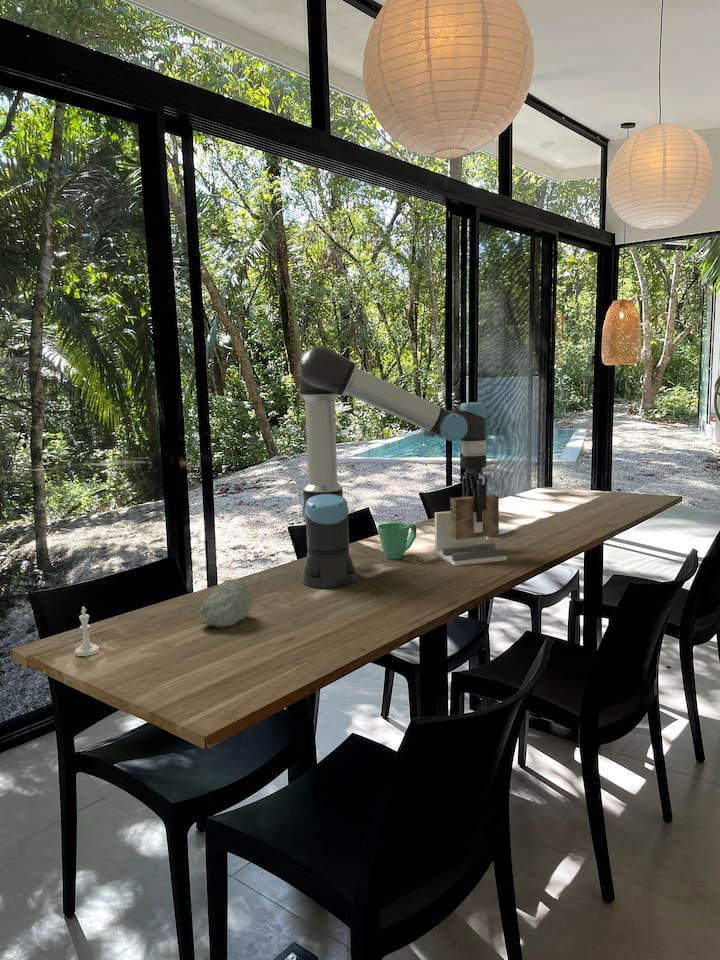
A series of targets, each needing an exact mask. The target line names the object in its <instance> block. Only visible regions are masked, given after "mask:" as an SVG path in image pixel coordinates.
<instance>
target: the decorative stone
mask: <svg viewBox="0 0 720 960" xmlns="http://www.w3.org/2000/svg"><path fill="white" fill-rule="evenodd" d="M252 604H253V602H252V599H251V592H250V591H249V588H248V585H247V584H245V582H242V581H241V580H239V579H237V578H232V579H225V580H224V581H222V582H221V583H220V585H219V586H218V587H216V588H215V590H214V591H213V593H212V594H211V595H209V596H208V598H207V599H206V600H205V602H204V603H203V605H202V606H201V608H199V612H198V614H199V620H200V622H201V623H202V624H204V625H209V626H210V627H214V628H218V629H219V628H222V629H223V628H226V627H231V626H234V625H235V624H236V623H238V622H240V621H242V620H244V619H245V618H247V617H248V615H249V611H250V609H251V607H252Z"/></svg>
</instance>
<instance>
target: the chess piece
mask: <svg viewBox="0 0 720 960" xmlns="http://www.w3.org/2000/svg"><path fill="white" fill-rule="evenodd" d="M86 611H87V608H85V606H82V607H81V611H80V614H81V615H79V616H78V618H79V620H80V623H81V625H80V626H79V629H80V630H82V642H81V644H80V646H79V647H77V648H76V649H74V655H75V656H76V655H77V656H76V657H79V656H85V657H90V656H89V655H91V656H93V654H94V655H96V654H98V653H99V652H100V647H99V646H98V645H96V644H93V643H92V642H91V639H90V634H89V629H90V628H91V625H90V624H88V622H89V620H90V619H89V618H90V614H87V613H86Z"/></svg>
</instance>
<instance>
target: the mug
mask: <svg viewBox="0 0 720 960" xmlns="http://www.w3.org/2000/svg"><path fill="white" fill-rule="evenodd" d="M377 531H378V537H379V540H380V545H381V548H382V551H383V553H384V555H385V557H386V559H388V560H399V559H402V558H403V555H404V553H405V552H407V551H408V549H410V548H411V547H412V545H413V543H414V541H415V540H416V538H417V526H416V525H415V523H402V522H385V523H381V524H378V525H377ZM409 533H410V534H409Z"/></svg>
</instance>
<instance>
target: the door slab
mask: <svg viewBox="0 0 720 960" xmlns="http://www.w3.org/2000/svg"><path fill="white" fill-rule="evenodd" d="M449 499H450V500H449V501H450V502H449V503H450V511H451V537H452V538H454V539H456V540H457V539H467V538H476V537H485V536H486V537H492V536H499V535H500V529H499V528H500V524H499V523H500V522H499V521H500V517H499V516H500V515H499V511H500V510H499V509H500V508H499V507H500V506H499V501H500V499H499V495H496V494H493V493H492V494H486V510H484V511H482V513H483V532H479V533H473V511H472V510H475V509H474V499H473V496H467V497H463V496H458V497H457V496H456V497H450V498H449Z"/></svg>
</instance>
